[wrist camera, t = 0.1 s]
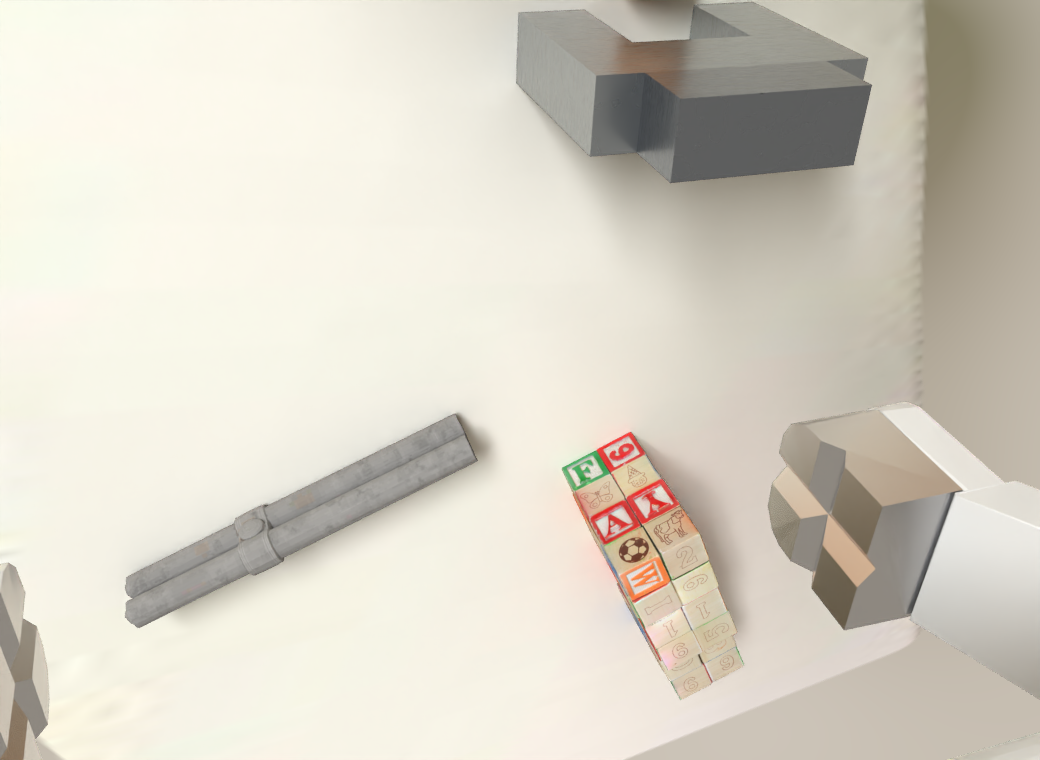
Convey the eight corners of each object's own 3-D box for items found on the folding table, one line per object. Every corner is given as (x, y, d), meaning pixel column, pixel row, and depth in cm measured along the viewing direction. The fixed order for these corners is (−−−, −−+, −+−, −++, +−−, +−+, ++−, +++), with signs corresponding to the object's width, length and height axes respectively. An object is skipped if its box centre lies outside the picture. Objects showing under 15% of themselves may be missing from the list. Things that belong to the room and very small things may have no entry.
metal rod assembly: (450, 402, 70) (469, 444, 66) (464, 429, 72) (483, 472, 68) (116, 567, 69) (115, 619, 65) (138, 590, 71) (138, 643, 67)
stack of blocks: (695, 588, 90) (763, 695, 80) (634, 621, 90) (695, 732, 80) (630, 429, 77) (702, 534, 67) (558, 466, 77) (620, 577, 67)
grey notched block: (518, 12, 56) (629, 102, 44) (753, 2, 61) (916, 81, 48) (516, 82, 59) (621, 187, 46) (743, 68, 63) (896, 160, 50)
